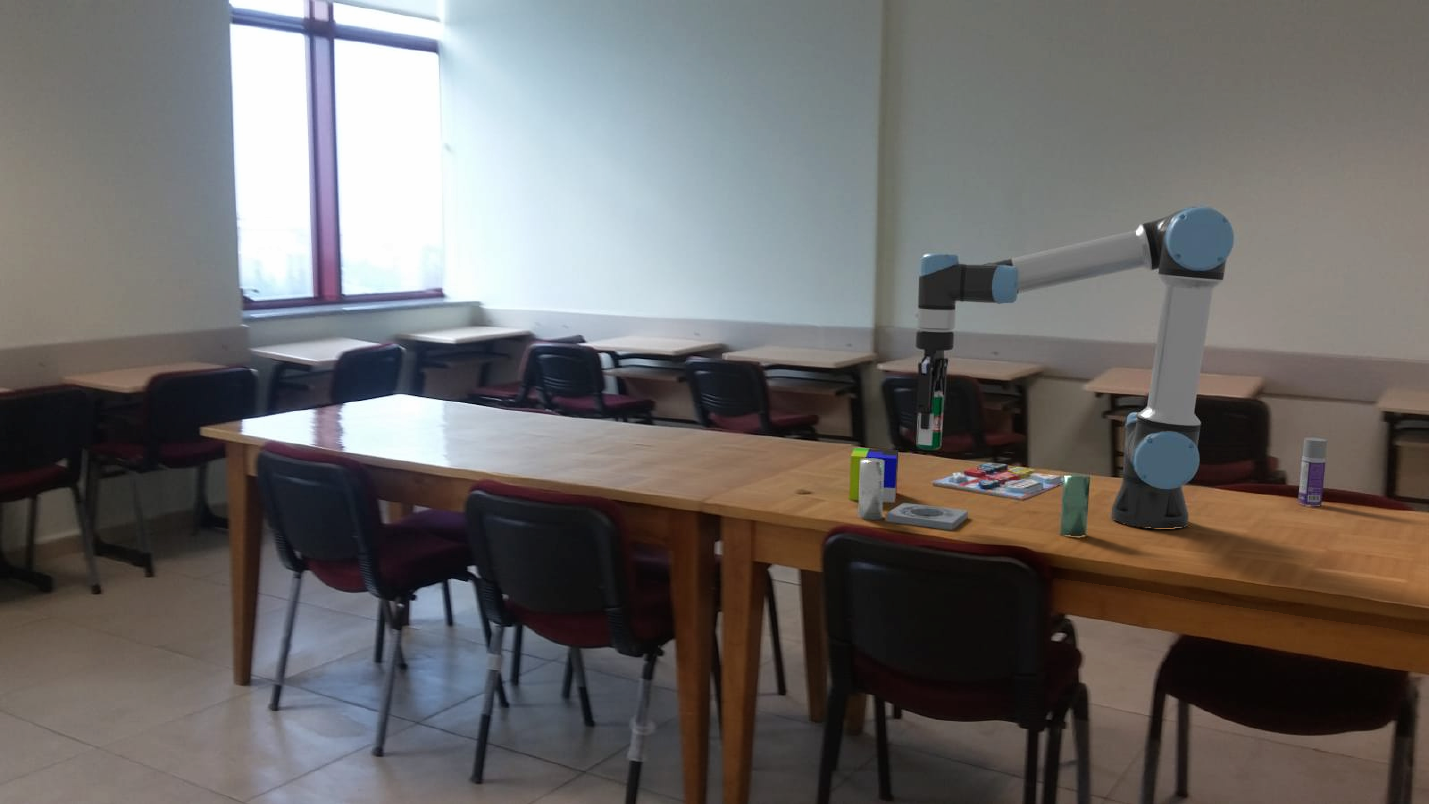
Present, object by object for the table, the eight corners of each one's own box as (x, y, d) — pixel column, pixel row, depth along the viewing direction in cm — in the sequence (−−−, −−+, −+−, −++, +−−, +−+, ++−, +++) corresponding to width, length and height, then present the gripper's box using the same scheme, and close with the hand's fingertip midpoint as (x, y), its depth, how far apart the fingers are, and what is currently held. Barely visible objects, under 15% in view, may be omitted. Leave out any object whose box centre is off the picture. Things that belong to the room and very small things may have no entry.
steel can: (885, 515, 240) (887, 459, 239) (877, 520, 236) (879, 463, 234) (862, 512, 243) (864, 457, 241) (854, 517, 238) (856, 461, 236)
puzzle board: (1022, 503, 257) (1022, 491, 257) (930, 488, 271) (931, 477, 271) (1074, 482, 281) (1074, 472, 280) (987, 469, 295) (988, 459, 295)
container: (1323, 504, 258) (1330, 439, 256) (1317, 508, 255) (1324, 442, 252) (1301, 501, 261) (1307, 436, 259) (1295, 504, 258) (1301, 439, 256)
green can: (1088, 533, 228) (1092, 475, 227) (1083, 539, 224) (1087, 479, 222) (1062, 530, 231) (1066, 472, 229) (1057, 536, 226) (1061, 476, 225)
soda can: (935, 451, 232) (938, 392, 231) (912, 448, 235) (915, 390, 233) (944, 447, 237) (947, 390, 235) (921, 444, 239) (924, 388, 237)
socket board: (967, 517, 240) (968, 510, 240) (951, 530, 229) (952, 522, 229) (903, 509, 246) (903, 502, 246) (885, 521, 236) (885, 514, 235)
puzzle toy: (894, 502, 253) (896, 458, 251) (849, 500, 255) (850, 455, 253) (896, 493, 263) (898, 450, 261) (852, 490, 265) (854, 448, 263)
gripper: (930, 326, 242) (924, 434, 245) (903, 331, 226) (897, 447, 229) (965, 328, 238) (958, 438, 242) (940, 333, 223) (934, 451, 226)
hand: (929, 442), depth 236 cm, fingers closed on soda can, 5 cm apart
